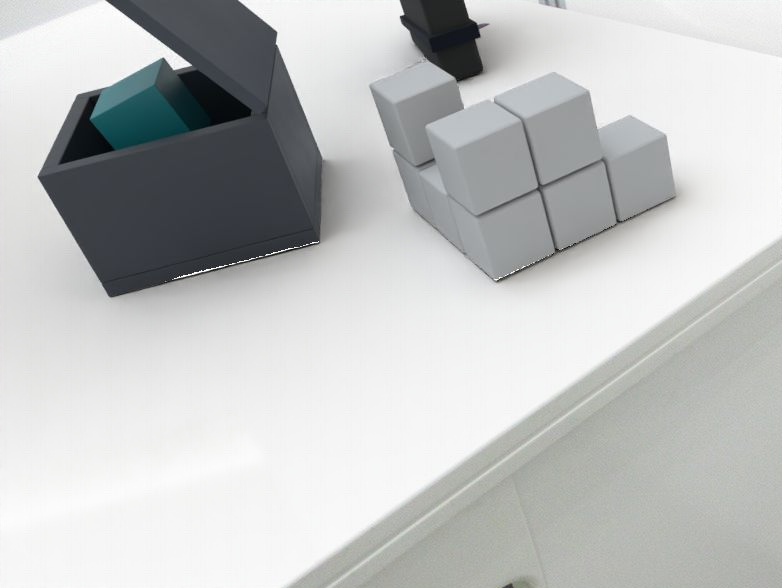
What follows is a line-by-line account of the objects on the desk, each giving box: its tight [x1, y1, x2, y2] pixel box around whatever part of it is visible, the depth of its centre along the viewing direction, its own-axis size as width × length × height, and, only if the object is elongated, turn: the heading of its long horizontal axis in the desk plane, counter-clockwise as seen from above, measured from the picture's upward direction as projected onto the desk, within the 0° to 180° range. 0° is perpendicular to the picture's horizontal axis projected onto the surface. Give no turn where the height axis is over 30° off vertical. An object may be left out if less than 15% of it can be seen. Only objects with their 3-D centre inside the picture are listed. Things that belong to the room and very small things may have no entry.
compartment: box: [37, 44, 323, 298], centre depth 67 cm, size 13×12×8 cm
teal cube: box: [90, 56, 211, 150], centre depth 65 cm, size 4×4×4 cm
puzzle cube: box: [369, 60, 677, 280], centre depth 62 cm, size 12×12×8 cm
